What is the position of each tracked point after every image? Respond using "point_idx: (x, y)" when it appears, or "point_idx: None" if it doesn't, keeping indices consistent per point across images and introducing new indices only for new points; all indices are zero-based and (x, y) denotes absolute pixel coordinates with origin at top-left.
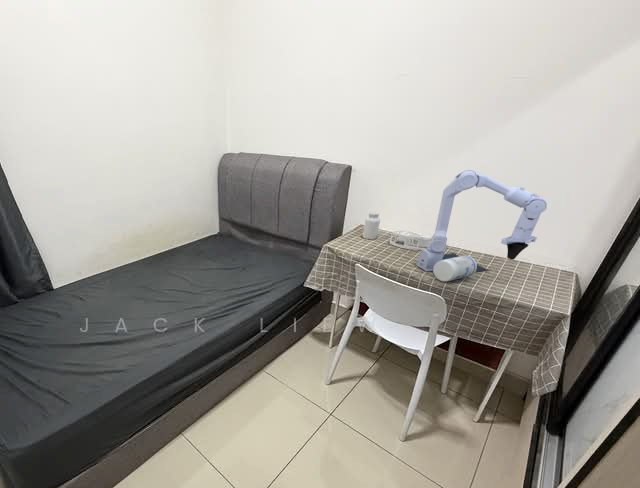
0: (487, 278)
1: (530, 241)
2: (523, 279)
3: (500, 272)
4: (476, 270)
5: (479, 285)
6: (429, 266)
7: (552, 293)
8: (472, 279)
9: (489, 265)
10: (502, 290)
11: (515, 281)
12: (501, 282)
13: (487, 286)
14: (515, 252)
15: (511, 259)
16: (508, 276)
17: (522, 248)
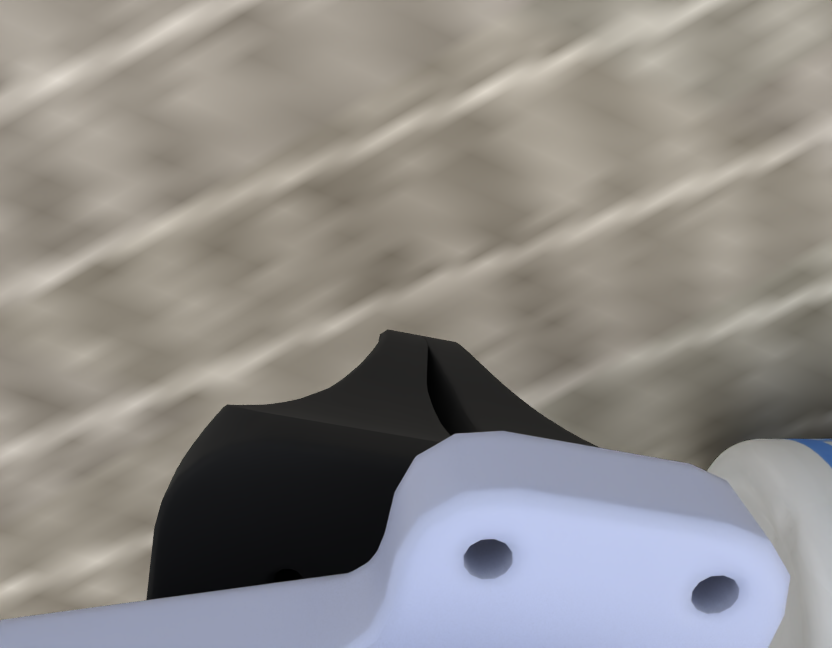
0: (505, 334)
1: (546, 495)
2: (48, 111)
3: (148, 379)
4: None
5: (820, 248)
6: None
7: None
8: (710, 389)
9: (79, 556)
10: (716, 20)
11: (234, 120)
12: (459, 184)
13: (761, 187)
14: (540, 414)
15: (458, 345)
16: (166, 261)
17: (402, 426)
